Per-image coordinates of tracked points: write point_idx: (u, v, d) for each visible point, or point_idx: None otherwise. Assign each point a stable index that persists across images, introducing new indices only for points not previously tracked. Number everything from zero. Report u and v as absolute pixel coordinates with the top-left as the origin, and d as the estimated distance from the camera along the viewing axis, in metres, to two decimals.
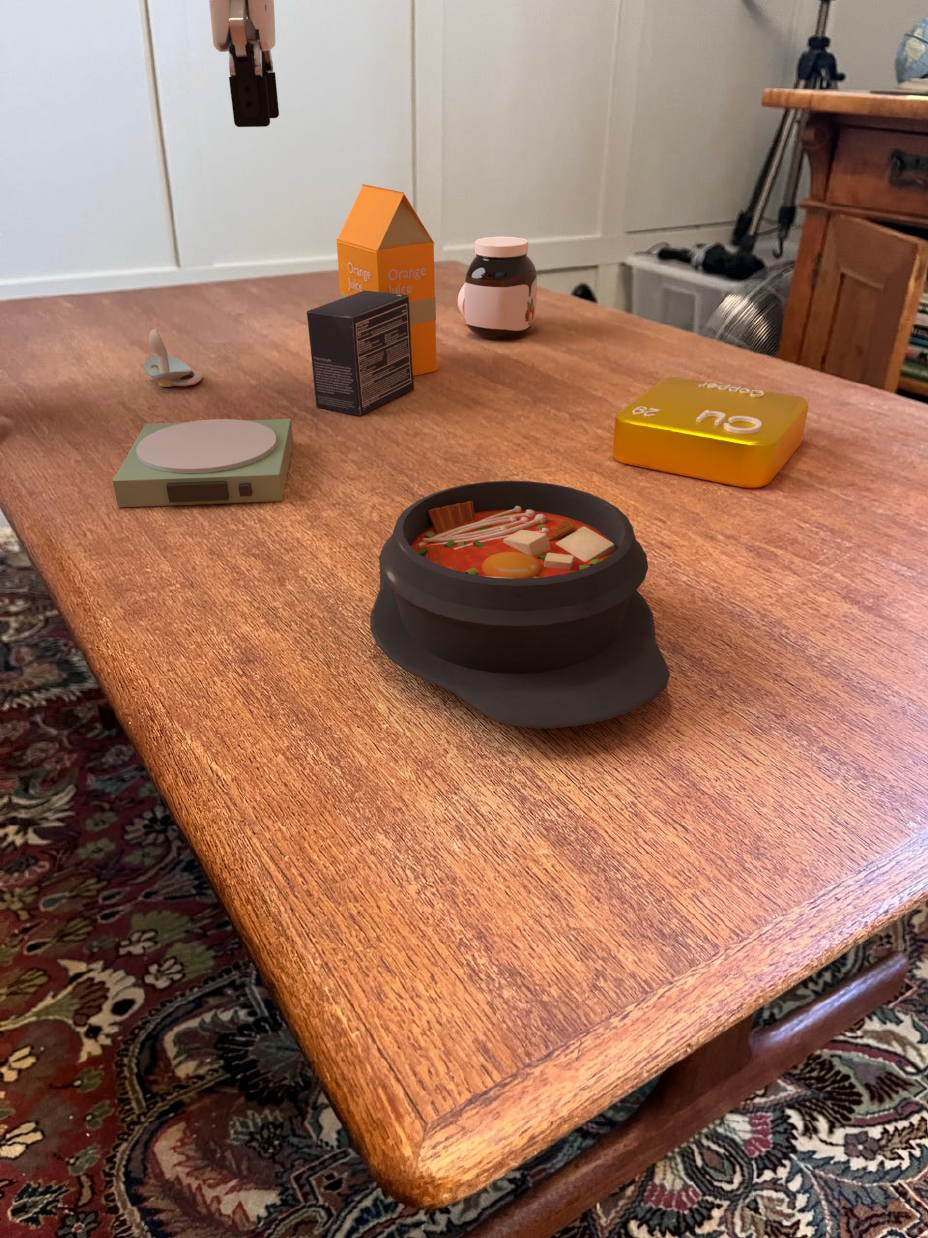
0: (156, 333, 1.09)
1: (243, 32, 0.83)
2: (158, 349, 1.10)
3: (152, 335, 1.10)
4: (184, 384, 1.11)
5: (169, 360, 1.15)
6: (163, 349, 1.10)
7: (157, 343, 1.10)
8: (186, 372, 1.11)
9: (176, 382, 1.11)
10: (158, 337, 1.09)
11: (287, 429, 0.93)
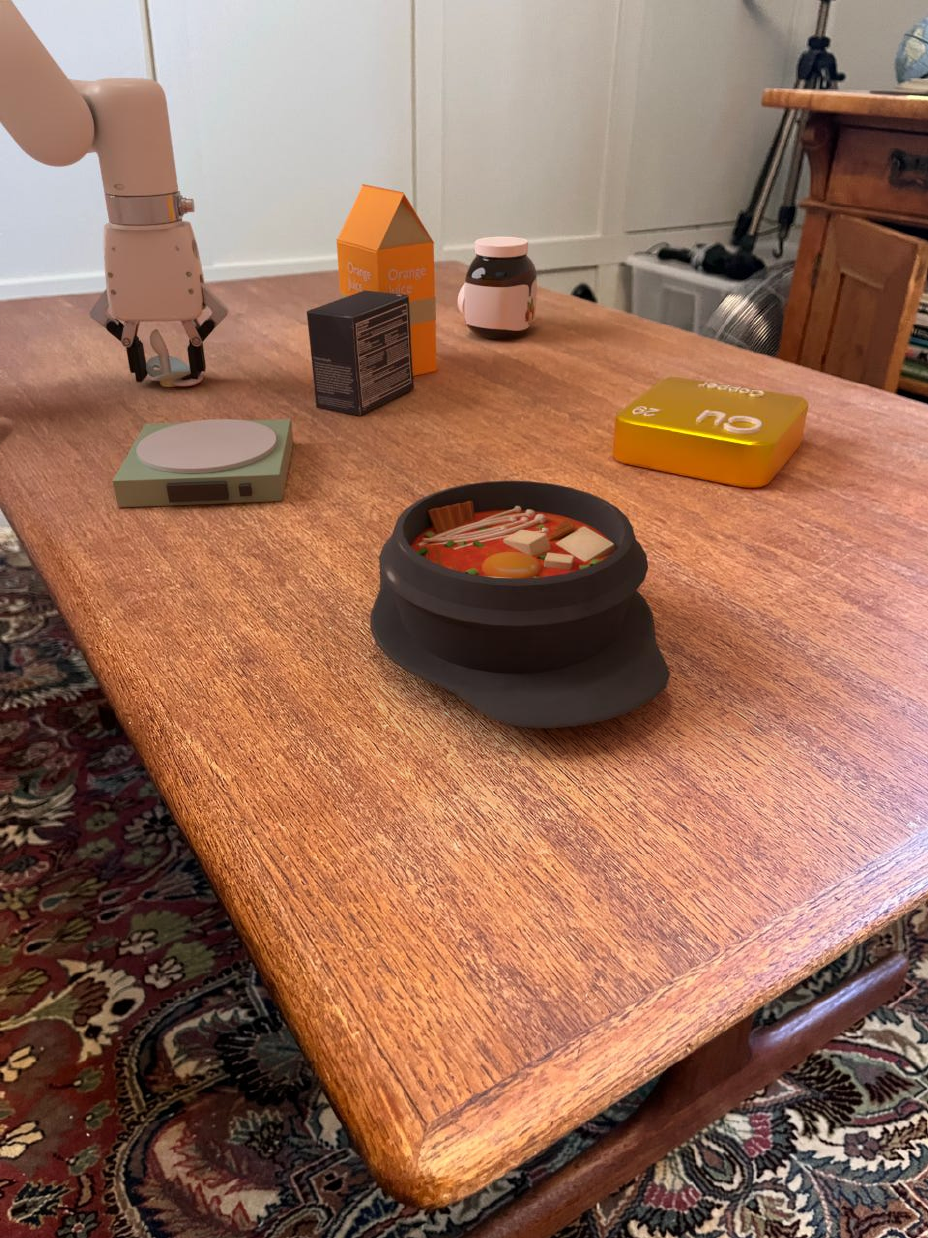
0: (157, 333, 1.09)
1: (95, 320, 1.09)
2: (159, 349, 1.10)
3: (153, 335, 1.10)
4: (185, 384, 1.11)
5: (170, 360, 1.15)
6: (164, 349, 1.10)
7: (159, 343, 1.10)
8: (187, 372, 1.11)
9: (177, 382, 1.11)
10: (159, 337, 1.09)
11: (287, 429, 0.93)
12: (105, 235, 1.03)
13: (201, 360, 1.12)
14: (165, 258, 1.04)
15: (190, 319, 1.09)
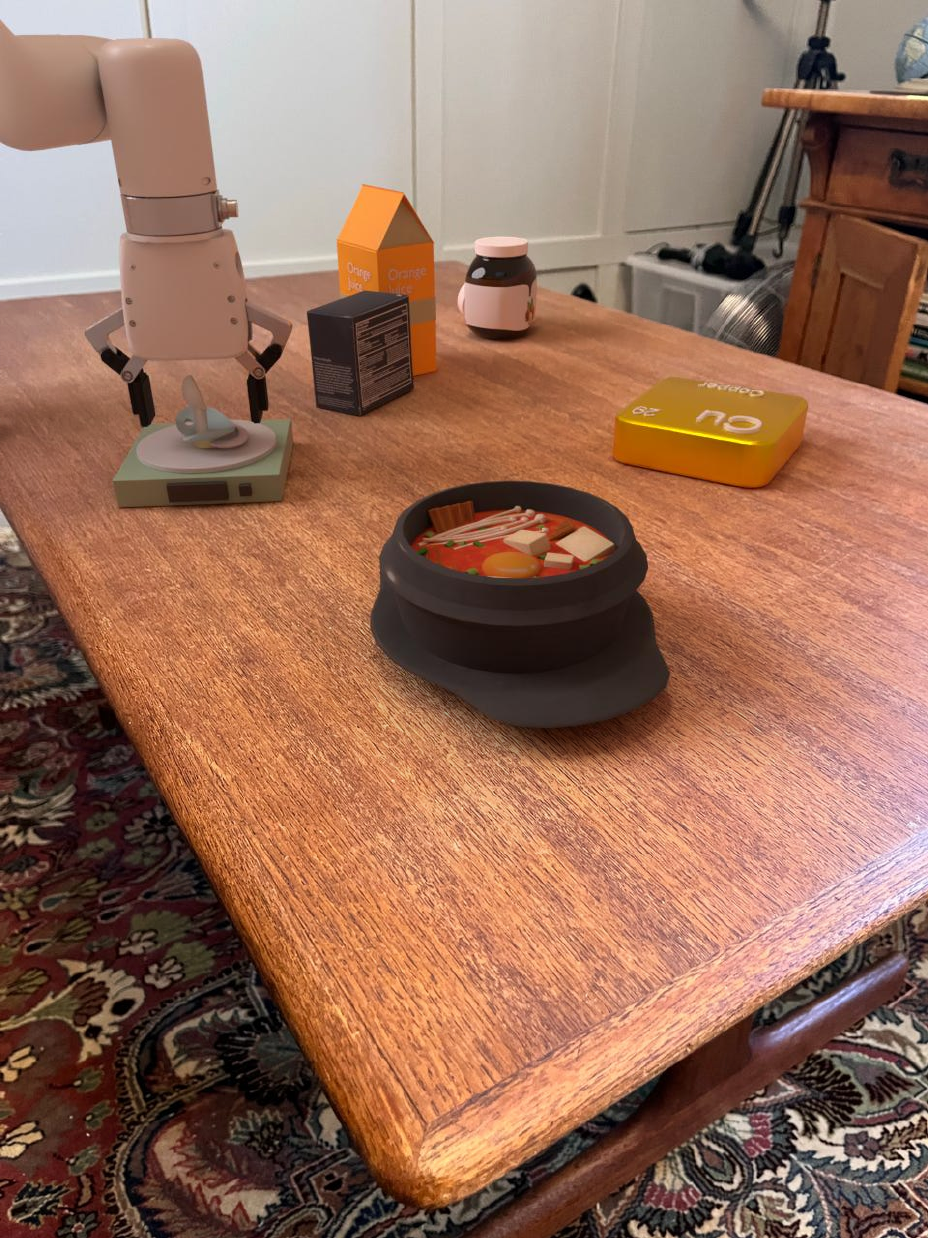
0: (192, 381, 0.85)
1: (89, 341, 0.83)
2: (194, 401, 0.85)
3: (186, 383, 0.85)
4: (227, 446, 0.86)
5: (207, 412, 0.90)
6: (200, 401, 0.85)
7: (193, 394, 0.85)
8: (229, 431, 0.86)
9: (216, 443, 0.86)
10: (194, 386, 0.85)
11: (287, 429, 0.93)
12: (121, 249, 0.78)
13: (264, 396, 0.86)
14: (200, 279, 0.79)
15: (232, 357, 0.83)
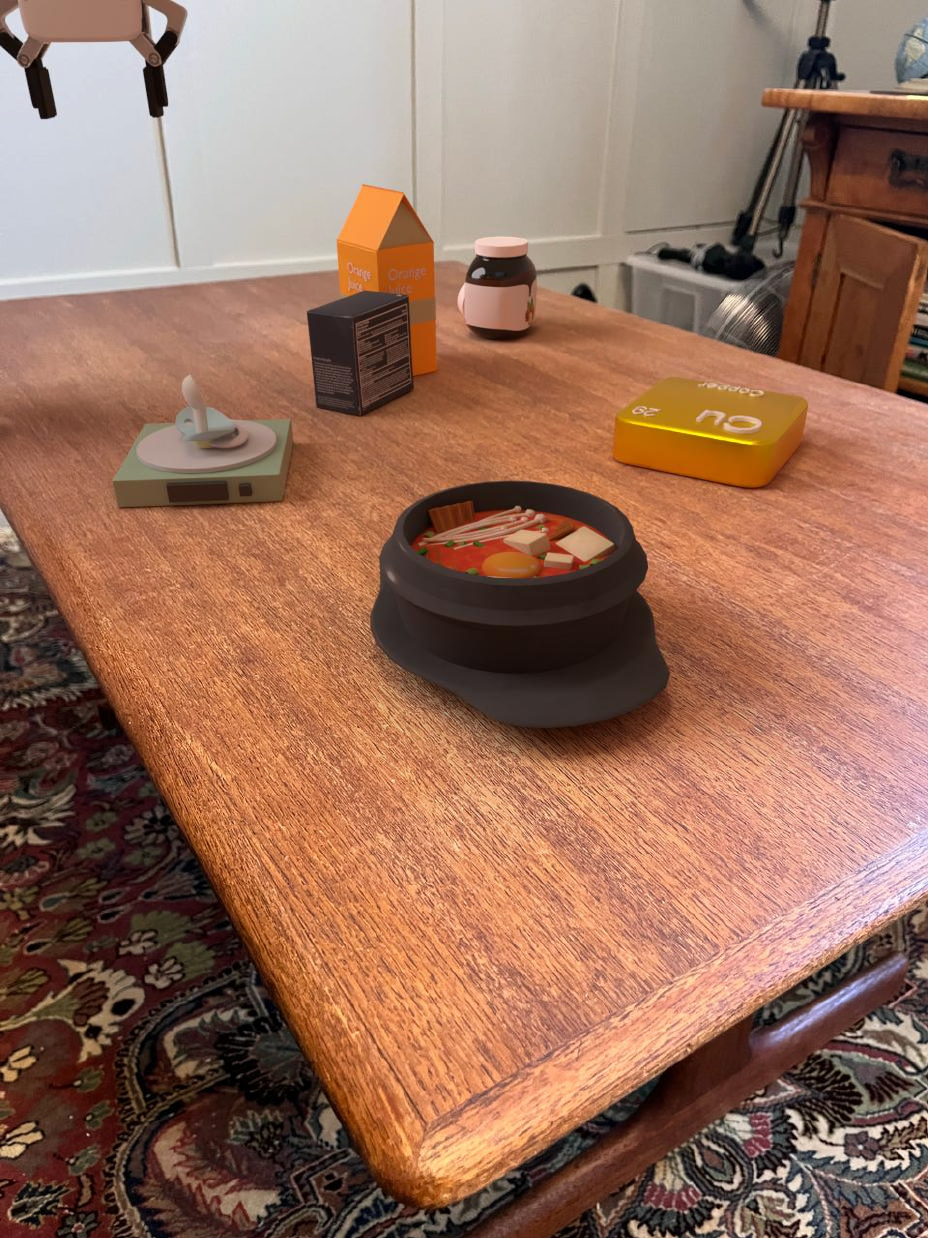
0: (192, 381, 0.85)
1: None
2: (194, 401, 0.85)
3: (186, 383, 0.85)
4: (227, 446, 0.86)
5: (207, 412, 0.90)
6: (200, 401, 0.85)
7: (193, 394, 0.85)
8: (229, 431, 0.86)
9: (216, 443, 0.86)
10: (194, 386, 0.85)
11: (287, 429, 0.93)
12: None
13: (161, 88, 0.87)
14: None
15: (127, 39, 0.84)
